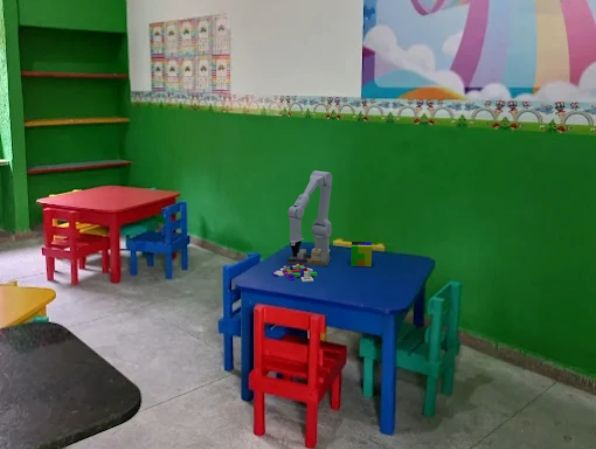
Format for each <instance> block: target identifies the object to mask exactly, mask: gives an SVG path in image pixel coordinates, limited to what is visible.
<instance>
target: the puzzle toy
mask: <svg viewBox="0 0 596 449" xmlns="http://www.w3.org/2000/svg"><path fill="white" fill-rule="evenodd" d="M372 245H373V244H372V241H351V250H350V251H351V252H350V254H351V255H350V257H351V258H350V266H351V267H372V258H373V257H372V256H373V255H372V254H373V253H372V252H373V248H372V247H373V246H372Z"/></svg>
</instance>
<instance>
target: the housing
mask: <svg viewBox="0 0 596 449" xmlns="http://www.w3.org/2000/svg"><path fill="white" fill-rule="evenodd" d="M321 253H322V249H315V248H312V249H311V254H310V255H311V261H320V254H321Z"/></svg>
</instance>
